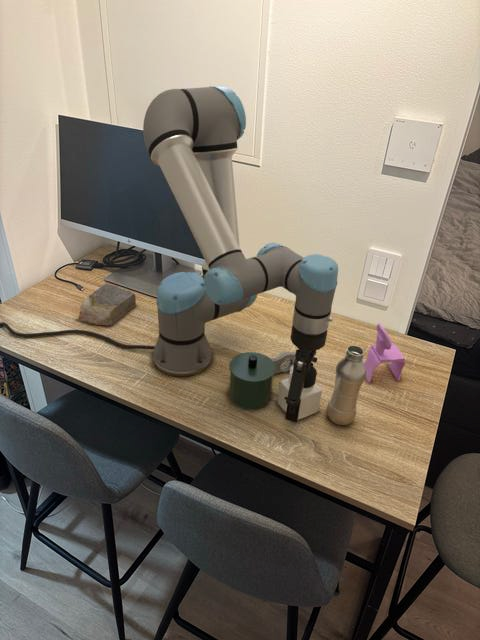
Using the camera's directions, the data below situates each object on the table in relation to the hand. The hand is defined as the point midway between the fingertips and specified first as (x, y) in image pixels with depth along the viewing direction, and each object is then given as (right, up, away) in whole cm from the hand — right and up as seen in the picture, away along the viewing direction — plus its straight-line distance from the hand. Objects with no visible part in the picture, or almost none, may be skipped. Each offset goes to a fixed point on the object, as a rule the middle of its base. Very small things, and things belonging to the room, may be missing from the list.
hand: (298, 400), depth 114 cm
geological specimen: (-53, +21, +31) cm, 65 cm away
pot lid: (-11, +8, -1) cm, 13 cm away
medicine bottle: (0, -2, +1) cm, 2 cm away
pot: (-11, +1, +4) cm, 12 cm away
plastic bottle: (+10, -4, -1) cm, 10 cm away
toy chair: (+23, +5, +13) cm, 27 cm away
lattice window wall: (-1, +6, +13) cm, 14 cm away
